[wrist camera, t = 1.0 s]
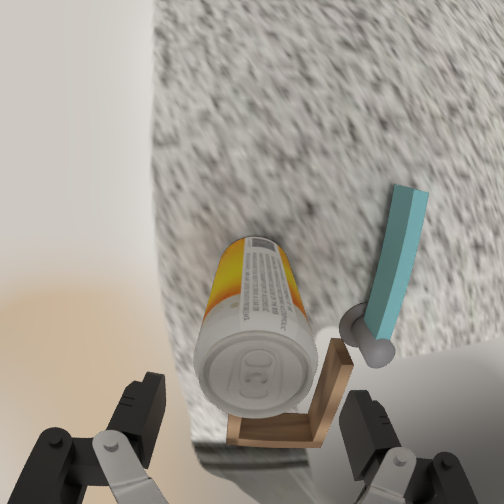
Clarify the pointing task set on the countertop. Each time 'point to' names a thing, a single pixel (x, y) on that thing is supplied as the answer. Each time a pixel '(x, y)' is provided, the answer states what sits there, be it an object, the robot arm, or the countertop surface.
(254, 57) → the countertop surface
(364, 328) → the gate
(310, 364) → the beer can
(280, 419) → the corral
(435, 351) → the countertop surface
